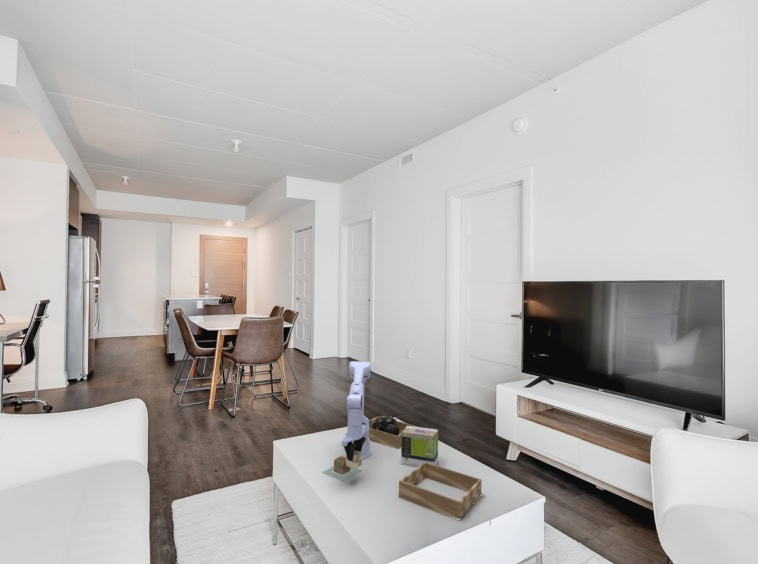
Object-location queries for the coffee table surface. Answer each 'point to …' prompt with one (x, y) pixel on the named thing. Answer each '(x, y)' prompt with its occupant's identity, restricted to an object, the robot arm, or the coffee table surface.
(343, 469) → the walnut block
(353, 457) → the maple block
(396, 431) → the film camera
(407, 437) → the tea box
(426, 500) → the box
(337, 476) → the build mat
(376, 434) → the camera crate
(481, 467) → the coffee table surface
